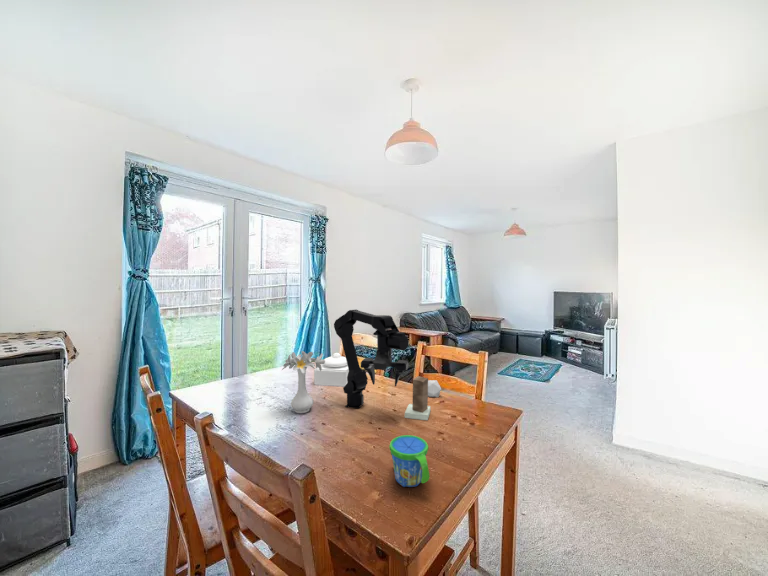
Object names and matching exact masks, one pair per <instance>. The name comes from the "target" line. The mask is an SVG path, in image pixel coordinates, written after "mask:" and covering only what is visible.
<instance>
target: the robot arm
mask: <svg viewBox="0 0 768 576" xmlns="http://www.w3.org/2000/svg"><path fill="white" fill-rule="evenodd" d="M357 322H361V323H364V324H367V325H369V326H371V327H372V328H373V329H374V330H375V331H374V332H373V334H372V335H373V336H376V337H377V338H376V339H377V340H376V342H377V344H376V346H377V348H376V349H377V350H376V355H375V357H373V358H370V357H365V358H364V359H362V360H361V361H360V362H359V358H358V354H357V351H356V348H355V343H354V339H353V334H354V330H355V329H354V326H355V324H356V323H357ZM333 328H334V330H335V333H336V335H337V336H338V337H339V339H340V340H341V343H342V344H341V345H342V348H343V352H344V357H346V361H347V365H348V369H349V372H348V376H347V381H348V383H347V384H346V385H345V387H342V388H343V393H344V394H346V405H345V407H346V408H352V409H360V408H361V407H362V406H363V405H364V403H365V402H364V400H365V399H364V398H365V396H364V394H363V391H366V387H367V385H368V381H369V378H368V375H369V377H370V379H371V382H372V383H371V384H372V385H375V384H376V383H375V382H376V373H375V371H377V370H378V371H380V370H381V371H386V370H387V368H395V369H396V370H395V371H394V372H395V375H394V376H395V378H394V387H397V386H398V385H397V384H398V383H399V379H400V377H401V374H402V373H404V372H406V371H407V370H408V369H409V361H408V360H404V359H403V360H402V359H398V360H397V362H396V361H393V356H392V353H393V352H392V351H393V349H394V350H398V351H406V350H407V349H408V347H409V339H408V338H409V337H407V336H406V332H405V331H404V332H400V330H399V329H398V326H397V325H396V323H395V320H394V319H393V317H392V316H391V315H384V314H383V315H382V314H381V315H380V314H379V315H376V314H372V313H369V312H365V311H362V310H359V309H349V310H347V311H346V312H345V314H342V315H341V316H339V317H338V318H337V319H335V321H334V323H333ZM359 363H360V364H359ZM367 373H368V375H367Z"/></svg>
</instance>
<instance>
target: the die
mask: <svg viewBox="0 0 768 576" xmlns="http://www.w3.org/2000/svg"><path fill="white" fill-rule="evenodd" d="M440 391H441V392H442V387H441V385H440V384H439V382H438V380H437V379H436V380H434V379H433V380H431V379H428V397H429V398H439V396H440V394H441V392H440Z"/></svg>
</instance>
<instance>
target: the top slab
mask: <svg viewBox="0 0 768 576" xmlns="http://www.w3.org/2000/svg"><path fill="white" fill-rule="evenodd" d="M412 407H413V403H409V404H408V405H407V407H406V409H405V411H404V417H405V418H406V419H413V420H421V421H428V420H429V417H430V414H431V408H432V407H431V405H428V408H427V409H426V410H425V411H424V412H423V413H422V412H418V411H415V410H412ZM405 418H404V419H405Z"/></svg>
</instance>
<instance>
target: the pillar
mask: <svg viewBox="0 0 768 576" xmlns="http://www.w3.org/2000/svg"><path fill="white" fill-rule="evenodd" d="M428 380H429V378H427V377H424V376H420V375H419V376H416V377H415V378H413V379H412V404H413V407H412V410H415V411H418V412H422V413H423V412H424V411H425V410H426V409H427V408H428V406H429V405H428V402H429V401H428V399H429V398H428Z"/></svg>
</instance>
